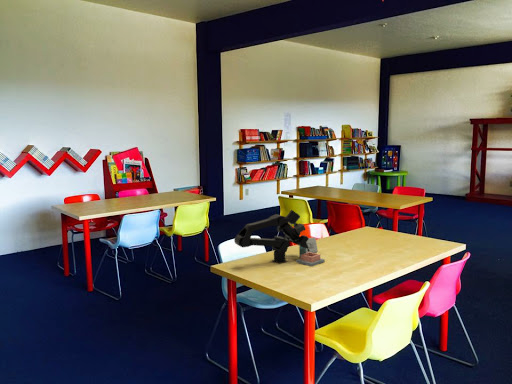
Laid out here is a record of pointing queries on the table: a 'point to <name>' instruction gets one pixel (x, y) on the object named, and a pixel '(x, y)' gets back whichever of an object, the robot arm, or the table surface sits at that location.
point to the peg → (301, 251)
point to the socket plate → (310, 259)
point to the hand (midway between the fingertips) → (304, 246)
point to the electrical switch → (311, 245)
